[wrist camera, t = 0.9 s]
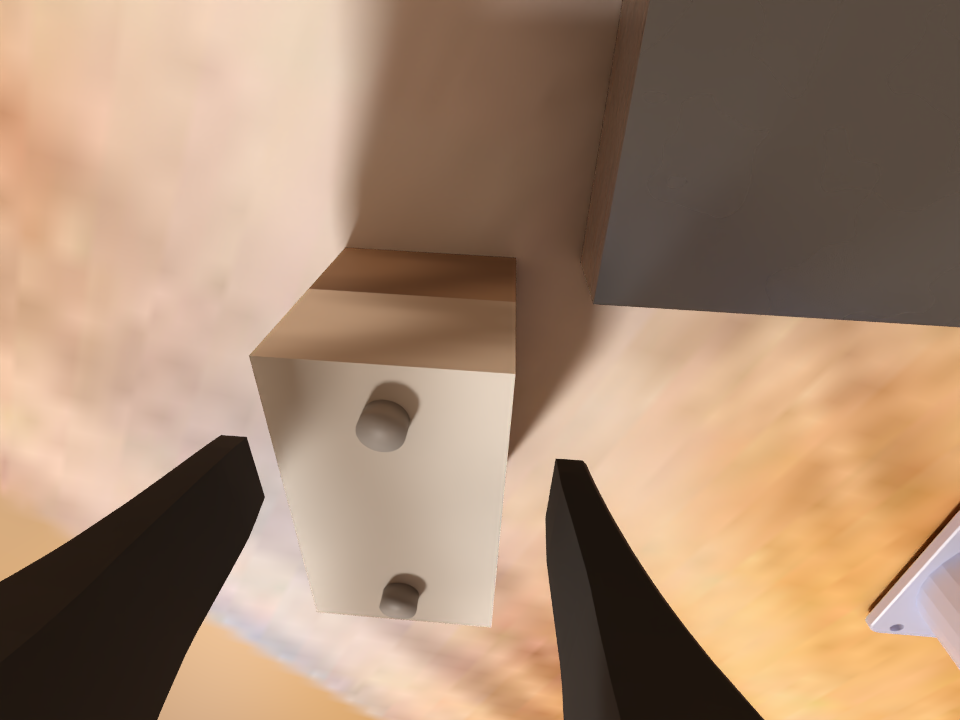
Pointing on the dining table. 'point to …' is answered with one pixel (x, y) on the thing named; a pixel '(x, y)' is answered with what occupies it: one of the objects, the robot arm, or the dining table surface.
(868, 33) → the stand
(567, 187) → the dining table surface
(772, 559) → the dining table surface
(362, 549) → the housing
